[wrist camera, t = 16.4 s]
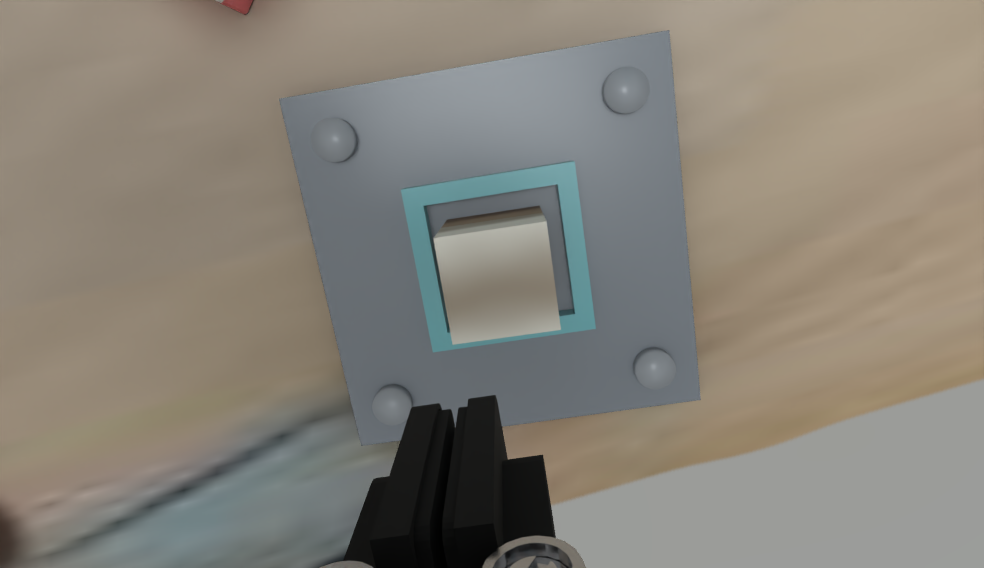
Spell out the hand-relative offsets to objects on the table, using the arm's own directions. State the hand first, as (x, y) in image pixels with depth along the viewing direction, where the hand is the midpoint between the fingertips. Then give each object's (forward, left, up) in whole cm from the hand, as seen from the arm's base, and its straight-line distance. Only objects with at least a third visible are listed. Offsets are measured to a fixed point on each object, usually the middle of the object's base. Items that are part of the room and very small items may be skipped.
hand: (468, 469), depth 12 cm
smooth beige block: (0, 0, -21) cm, 21 cm away
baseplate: (0, 0, -22) cm, 22 cm away
